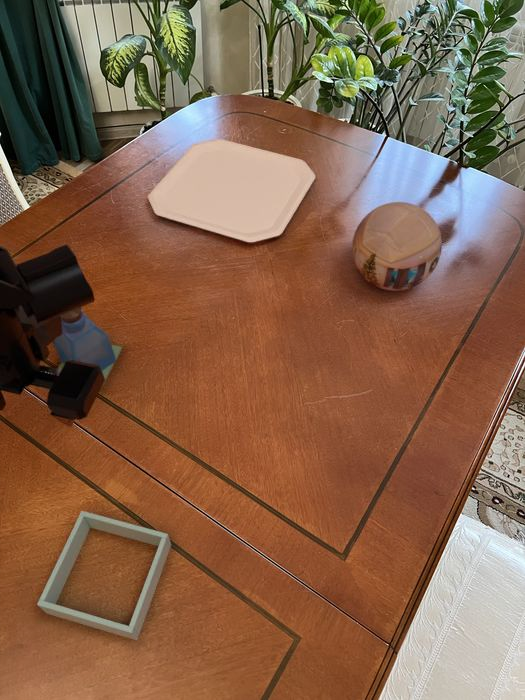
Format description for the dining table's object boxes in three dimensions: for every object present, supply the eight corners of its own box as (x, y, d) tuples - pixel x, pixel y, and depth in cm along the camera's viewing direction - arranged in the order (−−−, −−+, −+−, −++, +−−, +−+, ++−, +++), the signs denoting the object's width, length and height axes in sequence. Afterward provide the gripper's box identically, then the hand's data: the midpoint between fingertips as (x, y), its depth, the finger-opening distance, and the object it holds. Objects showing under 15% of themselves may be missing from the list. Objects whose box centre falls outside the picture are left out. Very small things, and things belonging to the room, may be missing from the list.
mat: (54, 376, 90) (53, 374, 89) (77, 338, 94) (76, 336, 94) (101, 387, 88) (101, 386, 88) (122, 348, 93) (121, 346, 93)
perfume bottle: (93, 339, 94) (75, 288, 84) (116, 360, 91) (100, 310, 82) (60, 361, 91) (38, 310, 81) (83, 383, 88) (63, 334, 79)
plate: (137, 216, 114) (135, 207, 112) (202, 141, 130) (201, 132, 128) (272, 257, 107) (272, 248, 106) (322, 172, 124) (323, 163, 122)
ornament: (355, 310, 99) (369, 245, 87) (340, 252, 108) (351, 185, 97) (439, 306, 100) (464, 240, 89) (417, 248, 110) (437, 181, 98)
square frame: (46, 613, 68) (36, 604, 65) (88, 522, 75) (81, 510, 72) (137, 640, 67) (131, 633, 64) (171, 544, 74) (168, 533, 71)
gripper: (111, 295, 62) (132, 379, 74) (-45, 264, 64) (1, 350, 77) (66, 376, 55) (97, 453, 68) (-107, 338, 58) (-46, 420, 70)
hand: (37, 415), depth 71 cm, fingers open, 9 cm apart
